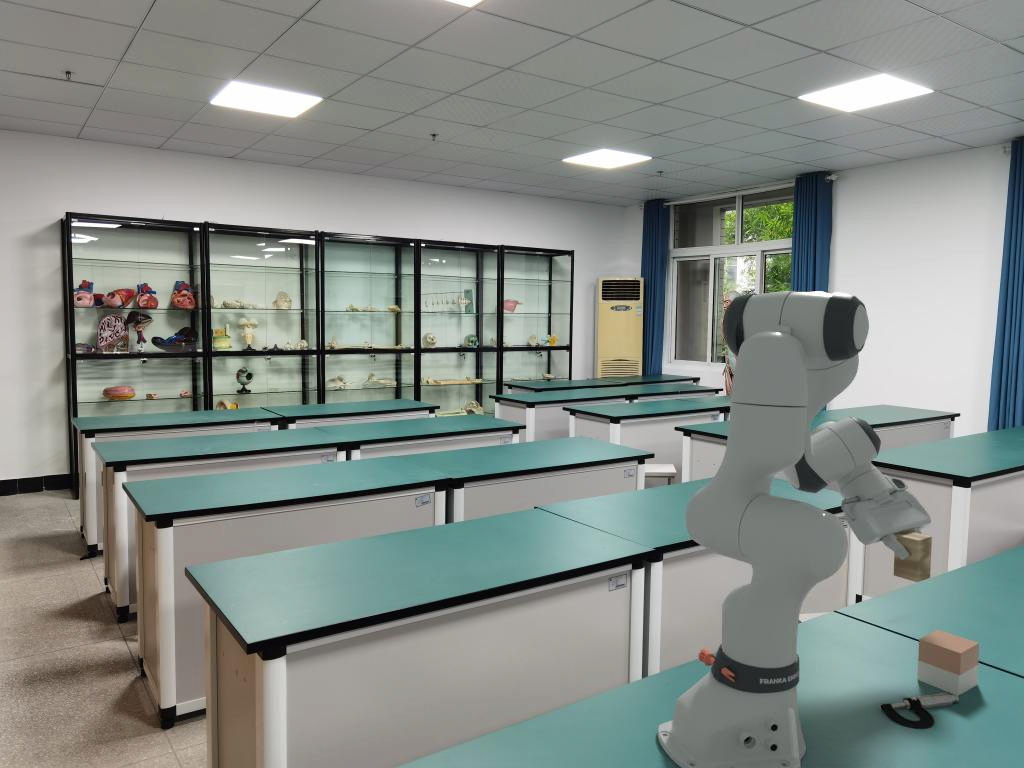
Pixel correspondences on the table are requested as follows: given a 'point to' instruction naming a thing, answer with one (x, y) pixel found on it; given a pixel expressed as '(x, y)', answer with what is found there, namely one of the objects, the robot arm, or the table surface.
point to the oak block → (914, 557)
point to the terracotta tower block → (948, 652)
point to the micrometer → (919, 709)
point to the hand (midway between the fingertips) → (916, 554)
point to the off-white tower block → (947, 678)
